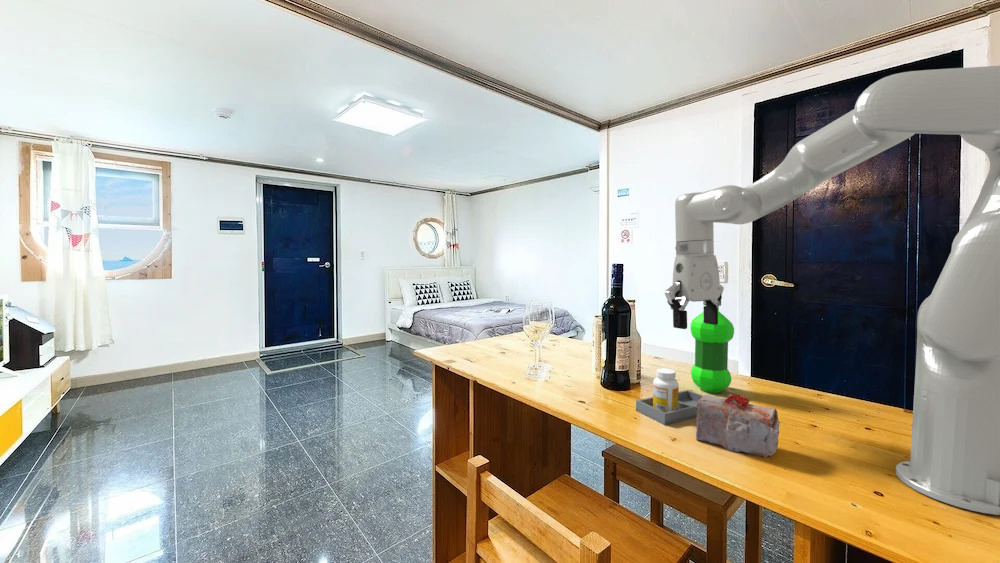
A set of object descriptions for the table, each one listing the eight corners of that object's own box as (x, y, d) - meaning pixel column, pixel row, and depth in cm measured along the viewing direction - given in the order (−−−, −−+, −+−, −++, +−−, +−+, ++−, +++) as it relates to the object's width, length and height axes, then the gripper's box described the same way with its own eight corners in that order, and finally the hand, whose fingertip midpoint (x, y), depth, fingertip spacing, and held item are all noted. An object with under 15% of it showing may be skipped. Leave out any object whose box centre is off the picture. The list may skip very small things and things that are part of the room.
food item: (779, 447, 74) (781, 397, 73) (777, 465, 67) (779, 410, 67) (700, 428, 82) (701, 383, 81) (692, 443, 76) (692, 394, 75)
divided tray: (718, 411, 90) (718, 401, 90) (664, 425, 84) (664, 413, 84) (687, 399, 98) (687, 389, 98) (636, 410, 92) (636, 400, 92)
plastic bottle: (691, 393, 102) (692, 300, 101) (688, 381, 112) (690, 295, 110) (734, 398, 98) (737, 301, 97) (728, 385, 108) (730, 296, 106)
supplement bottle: (672, 407, 92) (673, 367, 91) (681, 416, 86) (682, 374, 86) (649, 406, 92) (650, 367, 91) (657, 416, 87) (658, 374, 86)
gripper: (680, 249, 79) (682, 332, 80) (736, 248, 86) (737, 324, 87) (652, 251, 86) (654, 327, 86) (706, 249, 93) (707, 320, 93)
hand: (695, 326), depth 86 cm, fingers open, 9 cm apart
